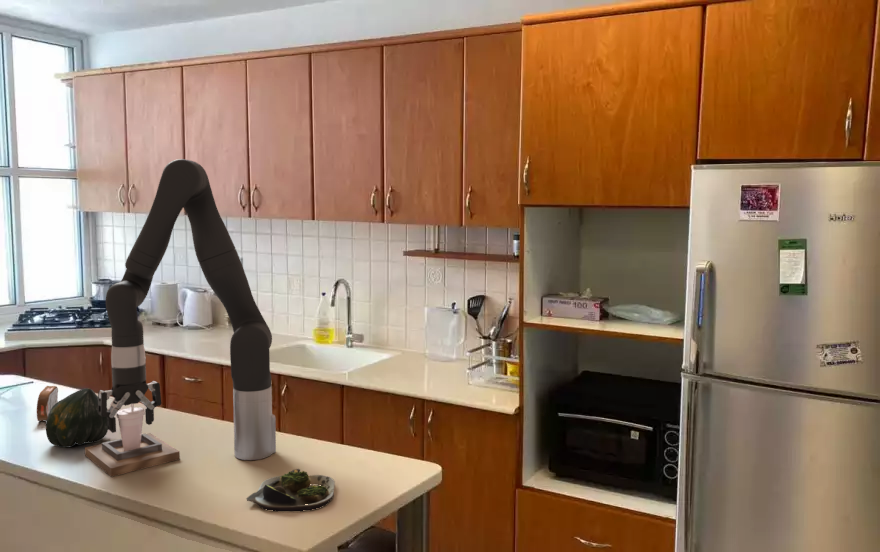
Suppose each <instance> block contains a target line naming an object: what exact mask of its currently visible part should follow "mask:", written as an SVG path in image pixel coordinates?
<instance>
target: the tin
mask: <svg viewBox="0 0 880 552" xmlns="http://www.w3.org/2000/svg"><path fill="white" fill-rule="evenodd" d="M58 392H59V388H58V387H57V385H46V386H45V387H44V388H43V389H42V390H41V391H40V392H39V395H38V398H37V402H36V403H37V404H36V420H37V421H38V422H46V420H47V418H48V415H49V412H50V410H51V408H52V407H53V406H54V405H55V404H56V403H57V402H59V401H58V395H59V394H58Z"/></svg>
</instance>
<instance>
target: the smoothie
mask: <svg viewBox="0 0 880 552" xmlns="http://www.w3.org/2000/svg"><path fill="white" fill-rule="evenodd" d="M134 405H135V404H130V407H126V408H122V409H120V410H118V412H117V413H116V415H115V418H117V419H118V420H117V421H118V426H119V431H120V436H121V438H120V439H122V443H123V449H124V451H128V450H132V449H137V448H140V445H141V435H142V434H143V432H142V431H143V424H144V422H143V421H144V416H145V408H142V407H137V406H134Z"/></svg>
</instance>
